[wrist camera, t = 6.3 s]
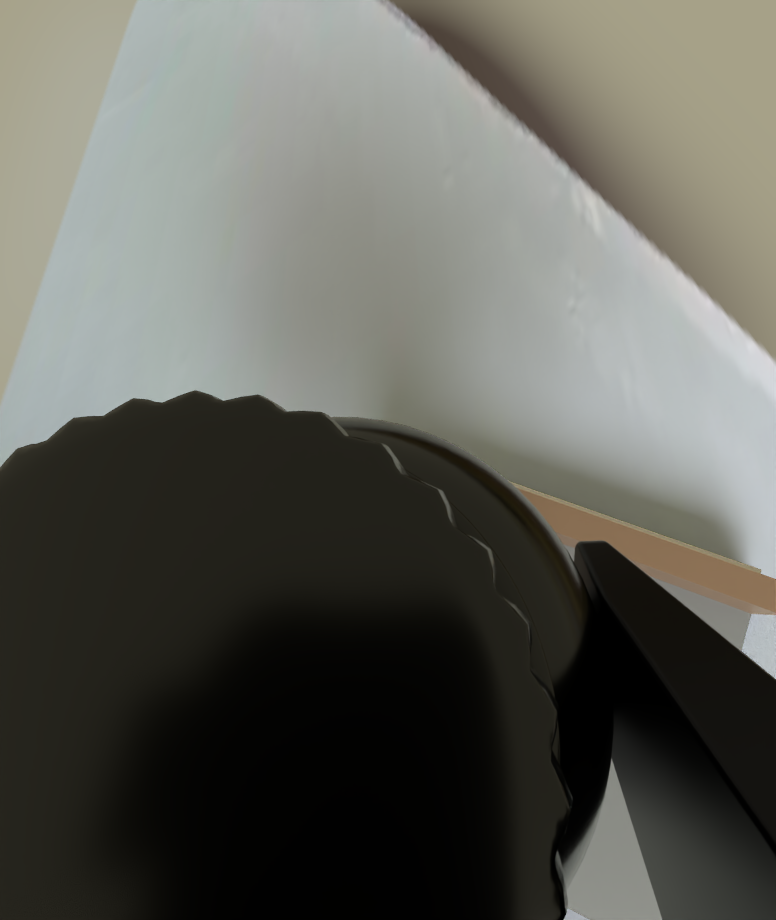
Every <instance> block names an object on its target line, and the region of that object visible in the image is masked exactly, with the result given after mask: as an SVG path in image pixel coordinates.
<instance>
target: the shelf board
mask: <svg viewBox="0 0 776 920" xmlns="http://www.w3.org/2000/svg"><path fill="white" fill-rule="evenodd" d="M509 482H510V481H509ZM510 483H512V484H513V485H514V486H515V487H516V488H517V489H518V490H519V491H520V492H521V493H522V494H523V495H524V496H525V497H526V498H527V499H528V500H529V501H530V502H531V503H532V504H533V505H534V506H535V507H536V508H537V509H538V511H539V512H540V513H541V514H542V516H543V517H544V518H545V519H546V521H547V522H548V523H549V524H550V526H551V527H552V528H553V529H554V531H555V532H556V534H557V535H558V537H559V538H560V540H561V541H562V543H563V545H564V546H565V548H566V549H567V551H568V552H569V554H570V556H571V557H572V559H573V561H574V553H575V546H576V544H577V543H578V542H579V541H596V540H603V541H606V542H608V543H609V544H611V545H612V546H613V547H614V548H616V549H617V550H618V551H619V552H620V553H622V554H623V555H624V556H625V557H627V558H628V559H629V560H630V561H631V562H633V563H634V564H635V565H636V566H638V567H639V568H640V569H641V570H643V571H644V572H645V573H646V574H647V575H649V576H650V577H651V578H652V579H654V580H655V581H656V582H657V583H658V584H660V585H661V586H662V587H663V588H665V589H666V590H667V591H668V592H669V593H671V594H672V595H673V596H674V597H676V598H677V599H678V600H679V601H680V602H682V603H683V604H684V605H685V606H687V607H688V608H689V609H690V610H691V611H693V612H694V613H695V614H696V615H698V616H699V617H700V618H701V619H703V620H704V621H705V622H706V623H707V624H709V625H710V626H711V627H712V628H714V629H715V630H716V631H717V632H718V633H720V634H721V635H722V636H723V637H725V638H726V639H727V640H728V641H729V642H731V643H732V644H733V645H734V646H736V647H737V648H738V649H739V650H740V651H741V650H742V646H743V643H744V639H745V635H746V631H747V628H748V624H749V620H750V616H751V614H768V615H776V579H774V578H771V577H768V576H765V575H762V574H760V573H761V569H758V568H755V567H752V566H749V565H746V564H744V563H741V562H738V561H735V560H732V559H729V558H726V557H724V556H721V555H718V554H715V553H712V552H709V551H707V550H704V549H701V548H698V547H695V546H692V545H690V544H687V543H684V542H681V541H678V540H675V539H672V538H670V537H667V536H664V535H661V534H658V533H655V532H653V531H650V530H647V529H644V528H641V527H638V526H636V525H633V524H630V523H627V522H624V521H621V520H618V519H616V518H613V517H610V516H607V515H604V514H601V513H599V512H596V511H593V510H590V509H587V508H584V507H581V506H579V505H576V504H573V503H570V502H567V501H564V500H562V499H559V498H556V497H553V496H550V495H547V494H545V493H542V492H539V491H536V490H533V489H530V488H527V487H525V486H522V485H519V484H516V483H513V482H510ZM567 897H568V907H567V908H569V909H571V910H573V911H574V912H576V913H578V914H580V915H582V916H584V917H586V918H588V919H590V920H662V917H661V914H660V911H659V908H658V905H657V901H656V898H655V895H654V892H653V889H652V885H651V882H650V879H649V876H648V873H647V869H646V866H645V863H644V860H643V857H642V854H641V850H640V847H639V844H638V841H637V838H636V834H635V831H634V828H633V825H632V822H631V819H630V815H629V812H628V809H627V806H626V803H625V799H624V796H623V793H622V790H621V787H620V784H619V780H618V777H617V774H616V771H615V768H614V764H613V761H612V758H611V766H610V772H609V777H608V783H607V788H606V794H605V798H604V802H603V805H602V809H601V812H600V816H599V819H598V823H597V826H596V829H595V832H594V834H593V837H592V839H591V842H590V844H589V847H588V849H587V852H586V854H585V857H584V859H583V861H582V863H581V865H580V867H579V869H578V871H577V873H576V874H575V876H574V878H573V880H572V882H571V884H570V886H569V888H568V889H567Z"/></svg>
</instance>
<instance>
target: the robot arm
mask: <svg viewBox="0 0 776 920" xmlns="http://www.w3.org/2000/svg"><path fill="white" fill-rule="evenodd" d="M574 563H575V565H576V567H577V569H578V571H579V573H580V574H581V576H582V578H583V580H584V583H585V585H586V588H587V590H588V592H589V595H590V597H591V600H592V602H593V604H594V607H595V610H596V613H597V617H598V620H599V623H600V626H601V630H602V633H603V636H604V641H605V646H606V651H607V655H608V660H609V665H610V673H611V682H612V691H613V713H614V733H613V745H612V757H611V758H612V761H613V764H614V768H615V771H616V774H617V777H618V780H619V784H620V787H621V790H622V793H623V796H624V799H625V803H626V806H627V809H628V812H629V815H630V819H631V822H632V825H633V828H634V831H635V834H636V838H637V841H638V844H639V847H640V850H641V854H642V857H643V860H644V863H645V866H646V869H647V873H648V876H649V879H650V882H651V885H652V889H653V892H654V895H655V898H656V901H657V905H658V908H659V911H660V914H661V917H662V920H776V679H775V678H774V677H772V676H771V675H770V674H769V673H767V672H766V671H765V670H764V669H762V668H761V667H760V666H759V665H758V664H756V663H755V662H754V661H753V660H751V659H750V658H749V657H748V656H747V655H745V654H744V653H743V652H742V651H740V650H739V649H738V648H737V647H736V646H734V645H733V644H732V643H731V642H729V641H728V640H727V639H726V638H725V637H723V636H722V635H721V634H720V633H718V632H717V631H716V630H715V629H714V628H712V627H711V626H710V625H709V624H707V623H706V622H705V621H704V620H703V619H701V618H700V617H699V616H698V615H696V614H695V613H694V612H693V611H691V610H690V609H689V608H688V607H687V606H685V605H684V604H683V603H682V602H680V601H679V600H678V599H677V598H676V597H674V596H673V595H672V594H671V593H669V592H668V591H667V590H666V589H665V588H663V587H662V586H661V585H660V584H658V583H657V582H656V581H655V580H654V579H652V578H651V577H650V576H649V575H647V574H646V573H645V572H644V571H643V570H641V569H640V568H639V567H638V566H636V565H635V564H634V563H633V562H631V561H630V560H629V559H628V558H627V557H625V556H624V555H623V554H622V553H620V552H619V551H618V550H617V549H616V548H614V547H613V546H612V545H611V544H609V543H608V542H606V541H603V540H596V541H579V542H578V543H577V544H576V546H575V553H574Z"/></svg>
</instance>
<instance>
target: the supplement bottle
mask: <svg viewBox="0 0 776 920" xmlns="http://www.w3.org/2000/svg"><path fill="white" fill-rule="evenodd" d="M613 733H614V713H613V691H612V682H611V673H610V665H609V660H608V655H607V651H606V646H605V641H604V636H603V633H602V630H601V626H600V623H599V620H598V617H597V613H596V610H595V607H594V604H593V602H592V600H591V597H590V595H589V592H588V590H587V588H586V585H585V583H584V580H583V578H582V576H581V574H580V573H579V571H578V569H577V567H576V565H575V563H574V561H573V559H572V557H571V556H570V554H569V552H568V551H567V549H566V548H565V546H564V545H563V543H562V541H561V540H560V538H559V537H558V535H557V534H556V532H555V531H554V529H553V528H552V527H551V526H550V524H549V523H548V522H547V521H546V519H545V518H544V517H543V516H542V514H541V513H540V512H539V511H538V509H537V508H536V507H535V506H534V505H533V504H532V503H531V502H530V501H529V500H528V499H527V498H526V497H525V496H524V495H523V494H522V493H521V492H520V491H519V490H518V489H517V488H516V487H515V486H514V485H513V484H512V483H510V482H509V481H508V480H507V479H506V478H504V477H503V476H502V475H501V474H500V473H499V472H497V471H496V470H495V469H493V468H492V467H490V466H489V465H487V464H486V463H485V462H483V461H482V460H480V459H479V458H477V457H476V456H474V455H472V454H471V453H469V452H467V451H465V450H463V449H462V448H460V447H458V446H456V445H455V444H453V443H450V442H448V441H446V440H443V439H441V438H439V437H437V436H434V435H432V434H430V433H427V432H424V431H421V430H417V429H414V428H411V427H408V426H405V425H400V424H396V423H392V422H387V421H383V420H375V419H367V418H359V417H330V416H329V415H327V414H325V413H323V412H311V411H291V412H287V411H286V410H285V409H284V408H282V407H281V406H279V405H278V404H276V403H274V402H273V401H271V400H269V399H268V398H266V397H264V396H261V395H252V396H245V397H239V398H235V399H230V400H226V401H222V400H221V399H219V398H217V397H214V396H212V395H209V394H206V393H203V392H200V391H196V390H195V391H192V392H189V393H186V394H183V395H180V396H177V397H175V398H173V399H170V400H168V401H165V402H163V403H160V402H154V401H151V400H146V399H136V398H133V399H131V400H129V401H128V402H126V403H124V404H122V405H120V406H118V407H117V408H115V409H114V410H112V411H111V412H109V413H107V414H106V415H104V416H87V417H79V418H73V419H72V420H70V421H69V422H68V423H67V424H65V425H64V426H63V427H62V428H60V429H59V430H58V431H57V432H56V433H55V434H54V435H52V436H51V437H50V438H49V439H48V440H47V441H44V442H41V443H38V444H30V445H27V446H24V447H21V448H18V449H16V450H15V452H14V453H13V454H12V455H11V456H10V457H9V458H8V459H7V460H6V461H5V462H4V464H3V465H2V466H1V467H0V920H563V919H564V917H565V915H566V912H567V907H568V897H567V889H568V888H569V886H570V884H571V882H572V880H573V878H574V876H575V874H576V873H577V871H578V869H579V867H580V865H581V863H582V861H583V859H584V857H585V854H586V852H587V849H588V847H589V844H590V842H591V839H592V837H593V834H594V832H595V829H596V826H597V823H598V819H599V816H600V812H601V809H602V805H603V802H604V798H605V794H606V788H607V783H608V777H609V772H610V766H611V757H612V745H613Z"/></svg>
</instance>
